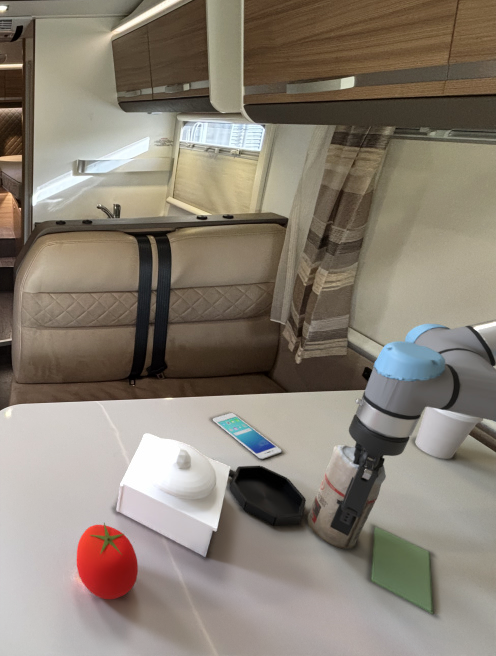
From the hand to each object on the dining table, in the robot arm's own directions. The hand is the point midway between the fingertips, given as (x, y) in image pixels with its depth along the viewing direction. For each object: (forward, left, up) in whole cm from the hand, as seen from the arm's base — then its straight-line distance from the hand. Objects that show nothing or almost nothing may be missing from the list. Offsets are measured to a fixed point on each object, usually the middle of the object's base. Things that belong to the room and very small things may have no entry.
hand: (341, 514), depth 84 cm
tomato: (+30, +39, -6) cm, 50 cm away
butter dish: (+27, +15, -6) cm, 32 cm away
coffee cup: (-16, -44, -6) cm, 47 cm away
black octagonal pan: (+16, 0, -5) cm, 17 cm away
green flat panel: (-10, 0, -5) cm, 11 cm away
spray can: (+1, 0, -5) cm, 6 cm away
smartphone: (+20, -18, -5) cm, 27 cm away
